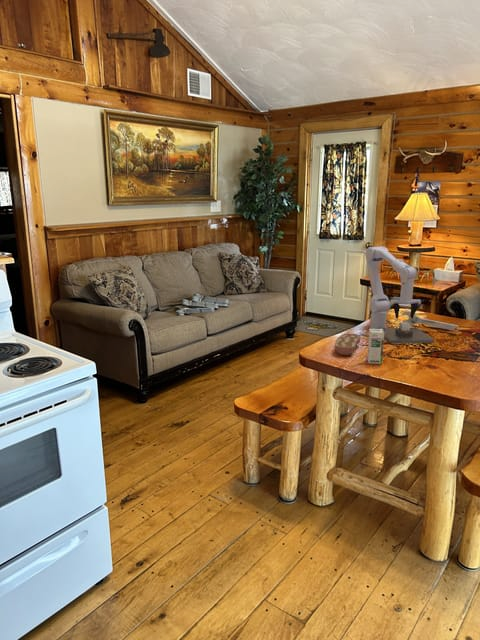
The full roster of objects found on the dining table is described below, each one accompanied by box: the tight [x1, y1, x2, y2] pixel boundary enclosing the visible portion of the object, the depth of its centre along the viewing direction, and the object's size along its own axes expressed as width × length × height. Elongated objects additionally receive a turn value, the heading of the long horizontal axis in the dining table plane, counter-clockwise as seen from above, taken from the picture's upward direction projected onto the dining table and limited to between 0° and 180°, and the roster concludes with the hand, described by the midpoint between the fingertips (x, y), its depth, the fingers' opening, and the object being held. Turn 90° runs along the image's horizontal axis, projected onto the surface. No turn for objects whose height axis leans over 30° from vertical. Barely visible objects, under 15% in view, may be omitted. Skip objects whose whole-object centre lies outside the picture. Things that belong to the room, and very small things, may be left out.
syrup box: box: [366, 328, 385, 365], centre depth 211 cm, size 6×6×14 cm
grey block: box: [398, 321, 411, 331], centre depth 248 cm, size 4×4×5 cm
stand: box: [376, 326, 435, 344], centre depth 248 cm, size 22×22×4 cm
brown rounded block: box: [334, 333, 362, 356], centre depth 228 cm, size 23×10×5 cm, turn 156°
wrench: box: [401, 310, 460, 332], centre depth 264 cm, size 8×2×30 cm
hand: (404, 318), depth 244 cm, fingers open, 7 cm apart
